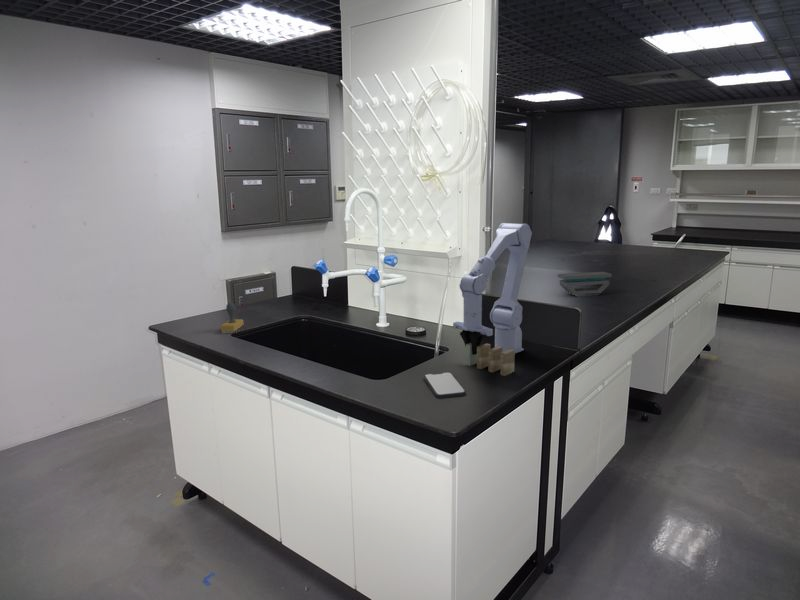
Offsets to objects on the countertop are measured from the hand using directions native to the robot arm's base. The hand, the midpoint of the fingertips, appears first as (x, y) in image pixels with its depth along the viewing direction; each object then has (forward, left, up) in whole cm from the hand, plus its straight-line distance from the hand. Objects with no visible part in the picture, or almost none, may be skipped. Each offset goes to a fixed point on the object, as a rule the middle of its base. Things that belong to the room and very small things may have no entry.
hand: (472, 353), depth 169 cm
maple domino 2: (0, +9, -4) cm, 10 cm away
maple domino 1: (0, +5, -4) cm, 6 cm away
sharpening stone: (-121, -23, -4) cm, 123 cm away
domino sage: (0, 0, -4) cm, 4 cm away
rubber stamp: (+33, -100, -4) cm, 105 cm away
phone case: (+21, +6, -4) cm, 22 cm away
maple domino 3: (0, +14, -4) cm, 14 cm away
